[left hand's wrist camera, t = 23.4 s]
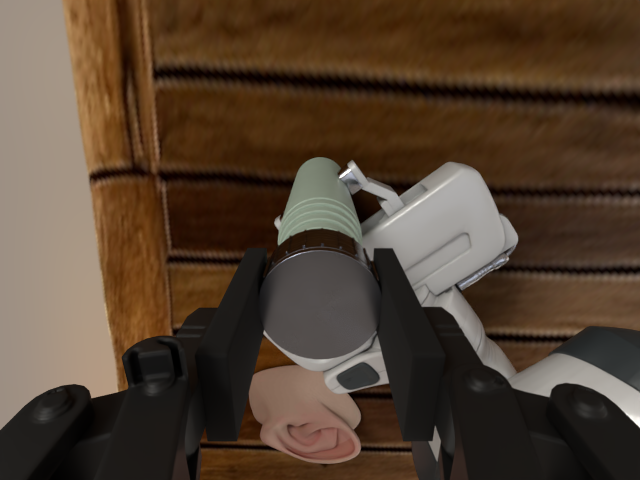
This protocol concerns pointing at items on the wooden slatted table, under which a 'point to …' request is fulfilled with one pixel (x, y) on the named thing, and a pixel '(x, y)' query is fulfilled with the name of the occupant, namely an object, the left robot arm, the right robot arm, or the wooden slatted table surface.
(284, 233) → the bottle
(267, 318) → the cap
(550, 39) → the wooden slatted table surface
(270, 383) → the anatomical model
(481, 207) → the right robot arm
